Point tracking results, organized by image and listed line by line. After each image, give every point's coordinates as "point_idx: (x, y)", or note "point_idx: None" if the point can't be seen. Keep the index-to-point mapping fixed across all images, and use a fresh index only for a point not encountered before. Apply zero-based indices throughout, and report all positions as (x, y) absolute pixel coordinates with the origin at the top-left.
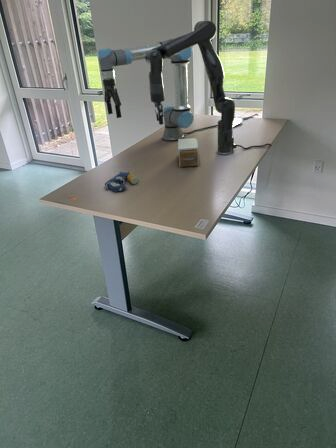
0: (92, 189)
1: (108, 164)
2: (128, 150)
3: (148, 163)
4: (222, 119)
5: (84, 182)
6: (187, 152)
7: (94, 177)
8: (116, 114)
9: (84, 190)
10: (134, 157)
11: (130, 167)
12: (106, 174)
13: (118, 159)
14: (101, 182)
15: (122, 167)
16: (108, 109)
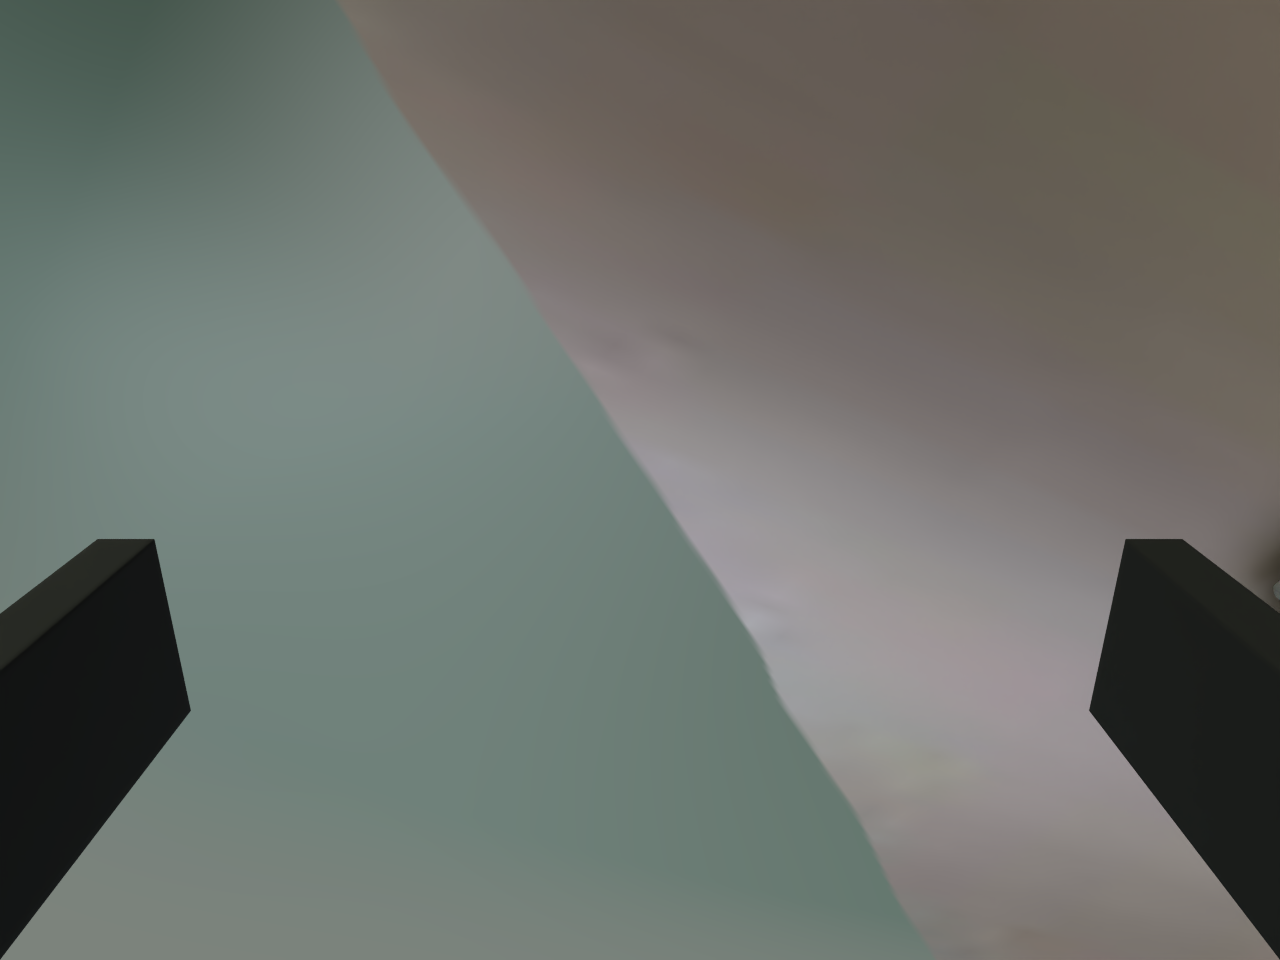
0: None
1: (742, 534)
2: (350, 18)
3: (1187, 50)
4: None
5: (1040, 895)
6: None
7: (1003, 789)
8: (1189, 810)
9: (1218, 943)
10: (764, 104)
11: (1088, 349)
12: (1037, 668)
13: (659, 350)
14: None
15: (995, 434)
16: (64, 840)
